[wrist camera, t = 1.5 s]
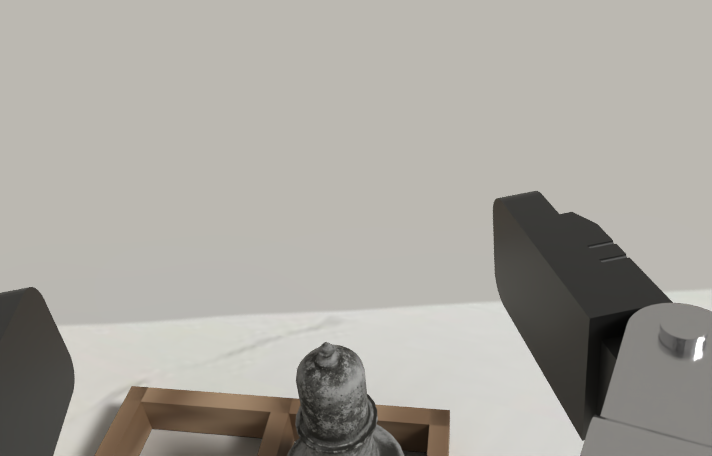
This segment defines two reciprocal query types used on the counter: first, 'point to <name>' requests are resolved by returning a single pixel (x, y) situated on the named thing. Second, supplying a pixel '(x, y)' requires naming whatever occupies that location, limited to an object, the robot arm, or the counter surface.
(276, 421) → the spice caddy
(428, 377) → the counter surface
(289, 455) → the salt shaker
